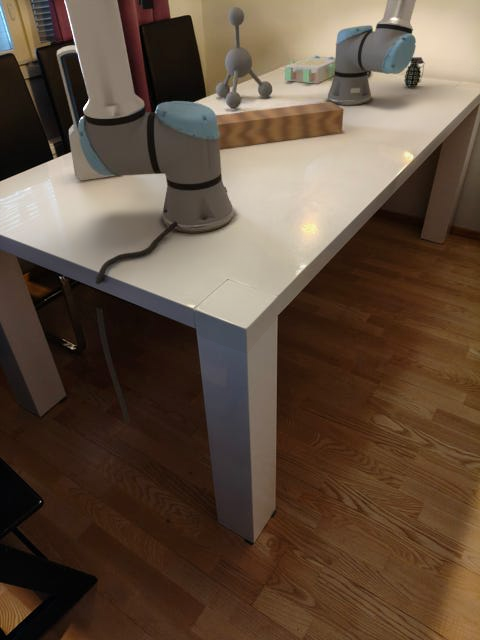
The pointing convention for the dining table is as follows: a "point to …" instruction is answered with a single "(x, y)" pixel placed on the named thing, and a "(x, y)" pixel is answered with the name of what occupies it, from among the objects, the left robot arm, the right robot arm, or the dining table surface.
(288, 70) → the decorative block
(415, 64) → the grenade
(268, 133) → the long wooden beam
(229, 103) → the molecular model
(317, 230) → the dining table surface
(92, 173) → the electronic device
